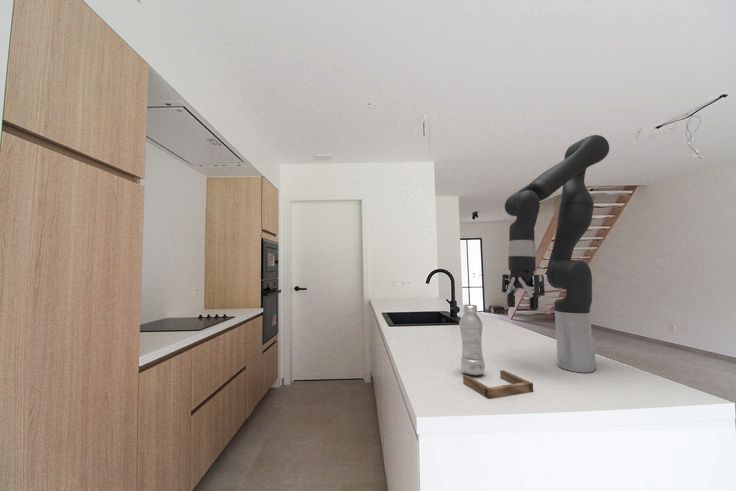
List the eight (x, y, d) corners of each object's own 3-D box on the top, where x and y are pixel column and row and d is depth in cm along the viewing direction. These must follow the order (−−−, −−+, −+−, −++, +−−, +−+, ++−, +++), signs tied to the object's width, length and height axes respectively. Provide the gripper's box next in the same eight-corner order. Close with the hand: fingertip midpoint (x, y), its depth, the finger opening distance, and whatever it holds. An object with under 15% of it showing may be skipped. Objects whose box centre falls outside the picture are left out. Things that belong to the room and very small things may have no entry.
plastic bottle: (487, 379, 84) (484, 307, 86) (462, 377, 85) (459, 306, 87) (483, 371, 90) (480, 304, 92) (459, 369, 92) (457, 304, 93)
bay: (504, 377, 85) (503, 370, 85) (533, 391, 75) (532, 383, 76) (463, 383, 81) (463, 375, 81) (488, 398, 72) (488, 390, 72)
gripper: (551, 255, 87) (551, 311, 86) (514, 257, 101) (514, 306, 99) (530, 253, 85) (531, 311, 83) (495, 256, 98) (495, 305, 97)
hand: (521, 308), depth 91 cm, fingers open, 8 cm apart
